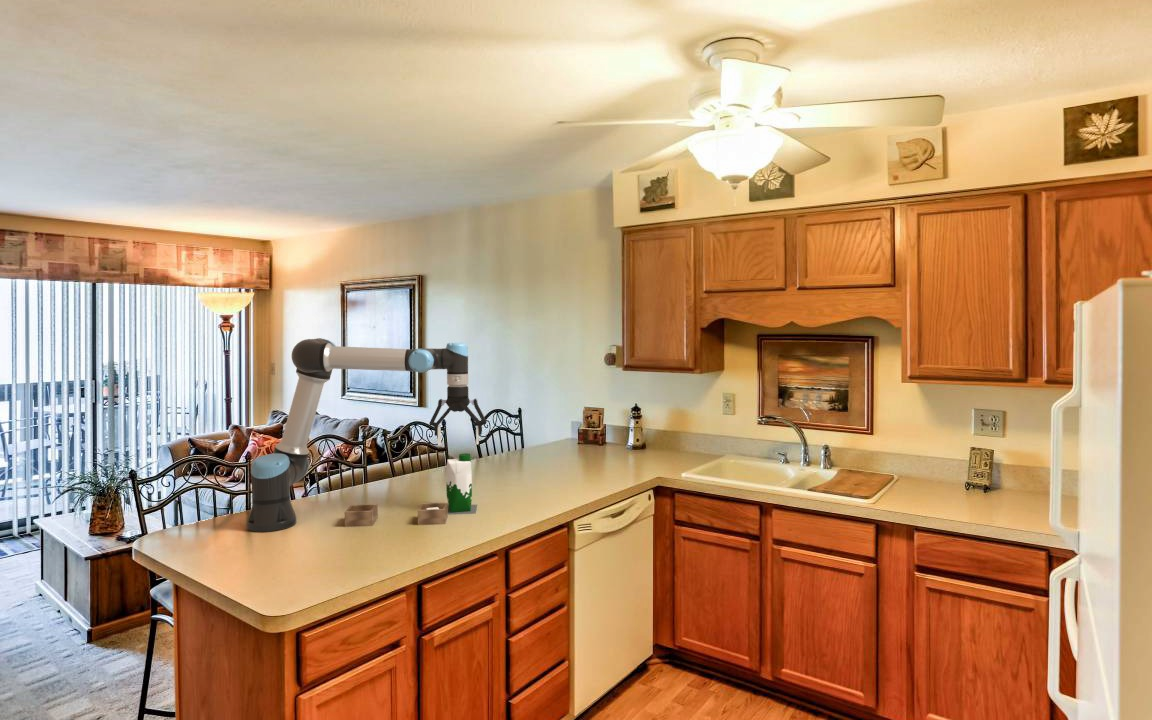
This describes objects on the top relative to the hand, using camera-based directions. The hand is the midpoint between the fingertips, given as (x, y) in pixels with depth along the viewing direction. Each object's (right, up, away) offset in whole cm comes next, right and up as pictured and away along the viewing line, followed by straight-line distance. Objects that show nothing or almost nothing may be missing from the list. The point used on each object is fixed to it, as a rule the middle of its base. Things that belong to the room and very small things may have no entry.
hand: (458, 444), depth 237 cm
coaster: (0, -24, +1) cm, 24 cm away
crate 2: (-6, -25, -13) cm, 29 cm away
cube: (-6, -24, -13) cm, 28 cm away
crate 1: (-30, -25, -14) cm, 42 cm away
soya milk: (0, -24, +1) cm, 24 cm away
